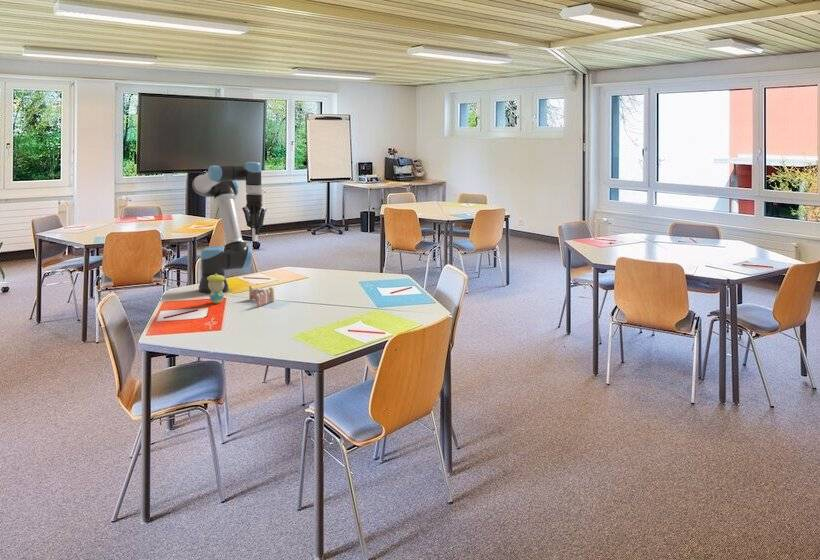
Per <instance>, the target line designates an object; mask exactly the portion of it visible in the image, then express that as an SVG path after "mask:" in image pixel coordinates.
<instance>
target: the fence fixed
mask: <svg viewBox="0 0 820 560" xmlns="http://www.w3.org/2000/svg"><path fill="white" fill-rule="evenodd" d="M268 290H270V292H271V303H272V302H274V300H275V288H274V287H270V286H269V287H268V288H266V289H265V288H264V287H263V288H261V289H260V288H259V287H256V288H255V287H254V286H253V285H249V286H248V291H249V292H248V295H249V296H248V297H249V300H250V301H253V300H257V294H260V293H263V294H264V291H267V292H268Z"/></svg>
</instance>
